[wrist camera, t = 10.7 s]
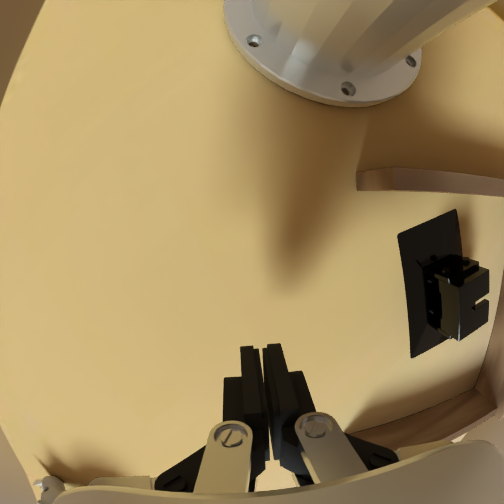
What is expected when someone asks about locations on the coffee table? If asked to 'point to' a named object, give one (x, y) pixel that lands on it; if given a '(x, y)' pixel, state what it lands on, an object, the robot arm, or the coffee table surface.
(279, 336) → the coffee table surface
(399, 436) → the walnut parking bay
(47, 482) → the white animal figurine
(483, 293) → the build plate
